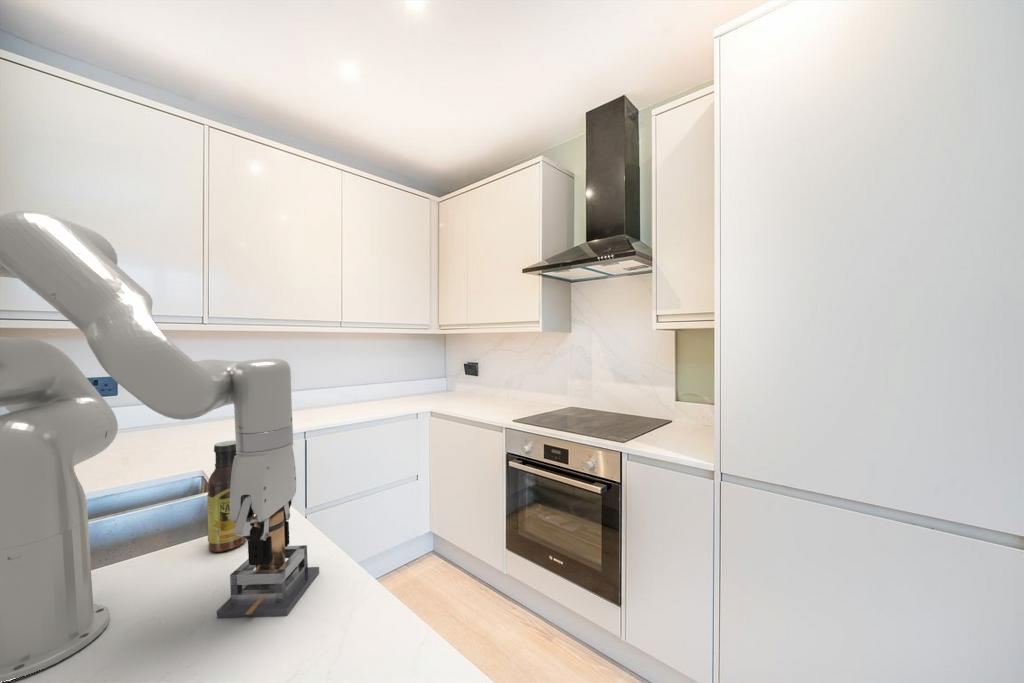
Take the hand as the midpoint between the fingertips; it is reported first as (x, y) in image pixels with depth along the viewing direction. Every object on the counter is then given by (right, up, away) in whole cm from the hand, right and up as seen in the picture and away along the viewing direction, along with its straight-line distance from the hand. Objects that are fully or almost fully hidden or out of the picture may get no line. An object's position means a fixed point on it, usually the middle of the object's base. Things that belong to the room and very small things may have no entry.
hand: (270, 553), depth 61 cm
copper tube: (0, -2, 0) cm, 2 cm away
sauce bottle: (-17, -6, +15) cm, 24 cm away
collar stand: (0, -6, 0) cm, 6 cm away
